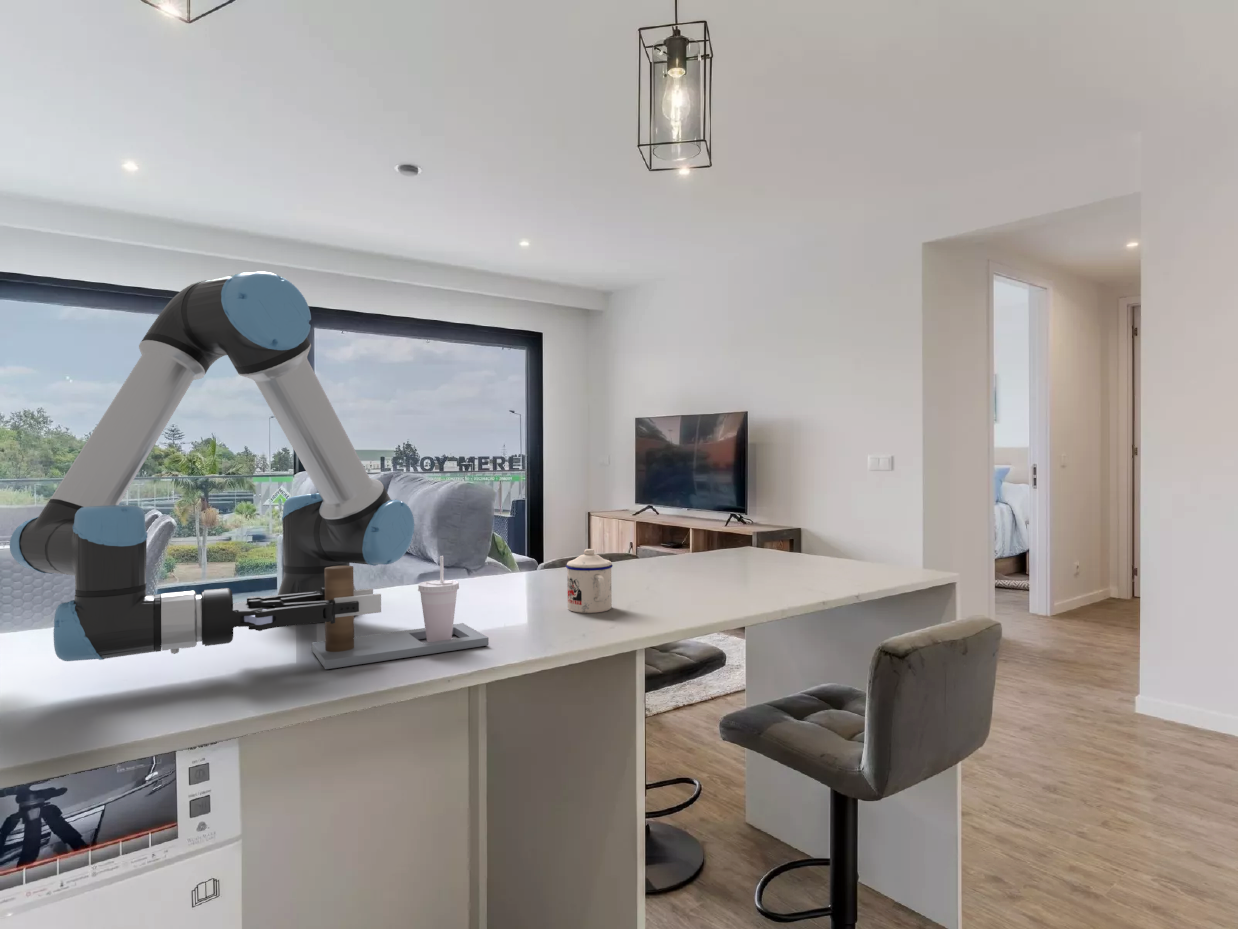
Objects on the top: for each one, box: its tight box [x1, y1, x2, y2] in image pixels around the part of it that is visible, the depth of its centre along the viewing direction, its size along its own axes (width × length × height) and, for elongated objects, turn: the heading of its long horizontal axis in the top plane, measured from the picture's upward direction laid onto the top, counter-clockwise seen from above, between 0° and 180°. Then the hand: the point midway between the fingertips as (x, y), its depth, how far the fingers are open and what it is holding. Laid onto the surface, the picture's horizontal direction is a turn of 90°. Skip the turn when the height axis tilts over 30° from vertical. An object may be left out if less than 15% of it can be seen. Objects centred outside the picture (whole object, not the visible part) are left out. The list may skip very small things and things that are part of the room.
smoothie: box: [417, 555, 460, 643], centre depth 115 cm, size 6×6×14 cm
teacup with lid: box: [565, 548, 613, 614], centre depth 139 cm, size 12×9×12 cm
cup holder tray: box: [311, 565, 490, 670], centre depth 111 cm, size 12×24×13 cm, turn 121°
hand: (376, 600), depth 110 cm, fingers open, 4 cm apart
